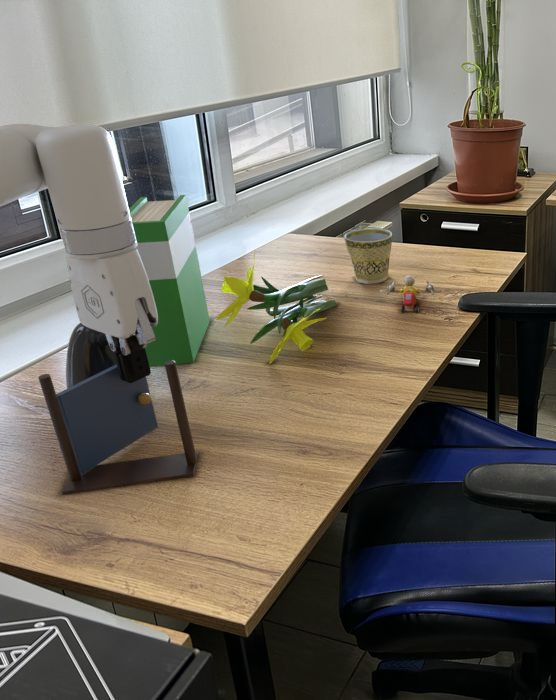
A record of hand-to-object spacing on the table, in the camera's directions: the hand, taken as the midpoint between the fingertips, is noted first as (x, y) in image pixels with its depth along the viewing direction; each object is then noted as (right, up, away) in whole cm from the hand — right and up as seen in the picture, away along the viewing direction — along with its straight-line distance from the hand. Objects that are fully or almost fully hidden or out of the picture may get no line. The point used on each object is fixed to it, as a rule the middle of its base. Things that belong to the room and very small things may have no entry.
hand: (136, 377), depth 90 cm
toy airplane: (+31, +12, +48) cm, 59 cm away
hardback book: (-8, +4, +34) cm, 35 cm away
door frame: (0, -12, -1) cm, 12 cm away
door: (-2, -9, +2) cm, 10 cm away
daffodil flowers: (+11, +6, +36) cm, 38 cm away
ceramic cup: (+22, +19, +63) cm, 70 cm away
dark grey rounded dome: (-8, -6, +12) cm, 16 cm away
